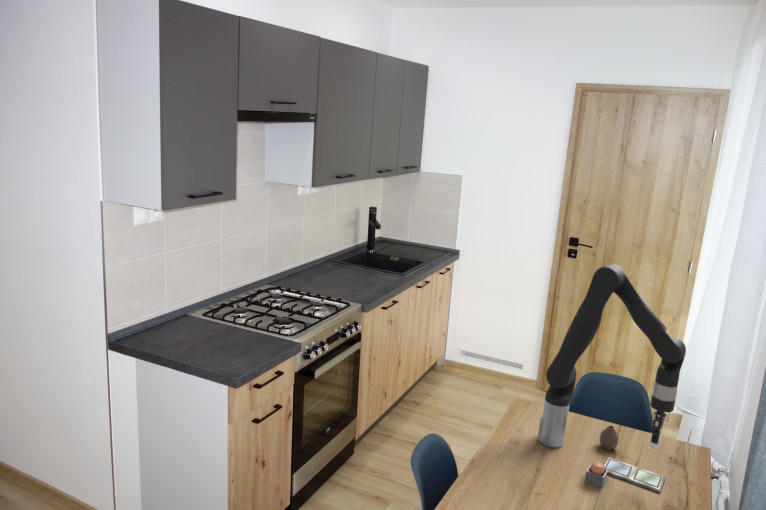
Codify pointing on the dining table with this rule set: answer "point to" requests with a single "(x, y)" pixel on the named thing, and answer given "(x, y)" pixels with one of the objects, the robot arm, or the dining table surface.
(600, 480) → the button housing
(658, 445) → the marker
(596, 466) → the button
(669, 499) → the dining table surface
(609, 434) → the vase
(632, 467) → the picture board
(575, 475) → the dining table surface
